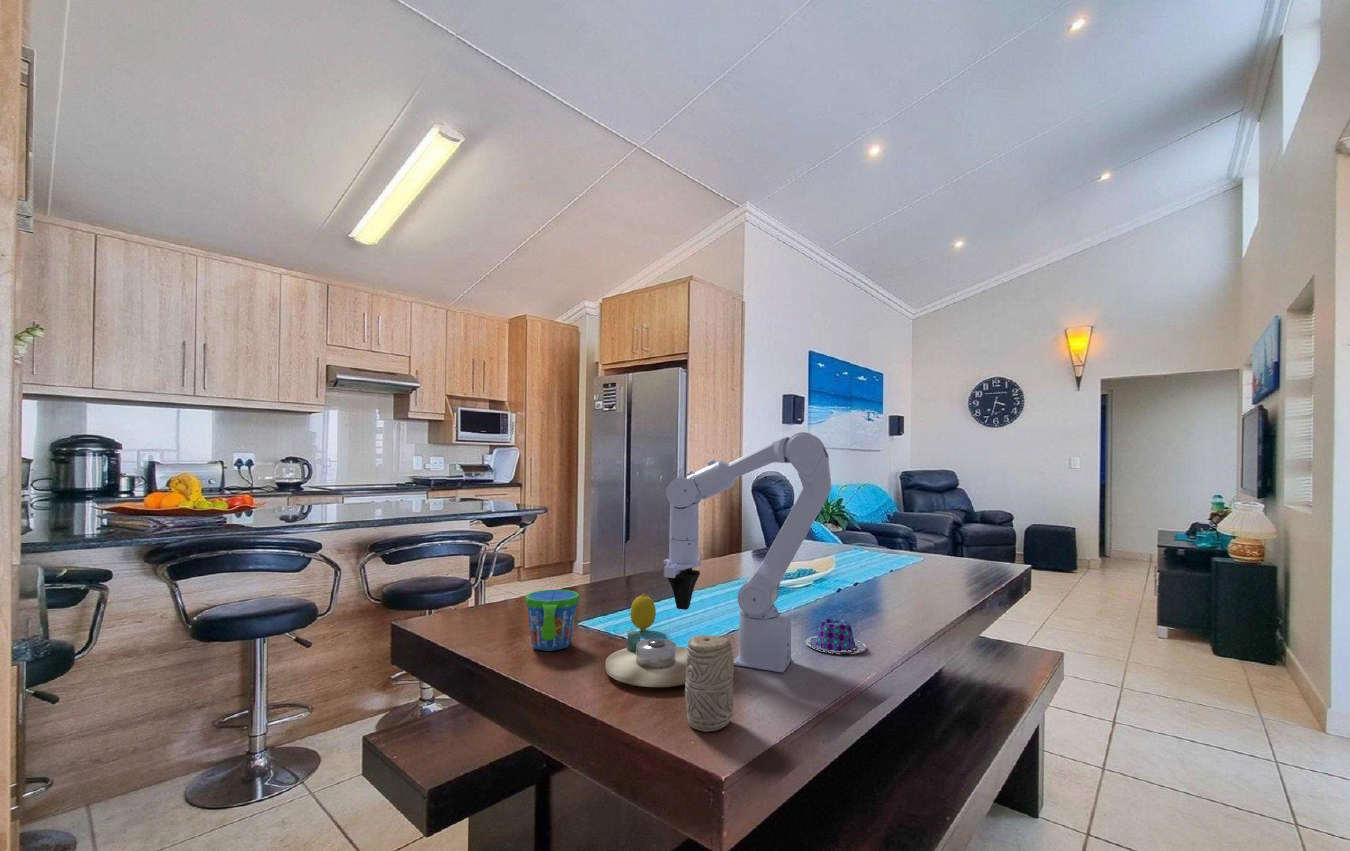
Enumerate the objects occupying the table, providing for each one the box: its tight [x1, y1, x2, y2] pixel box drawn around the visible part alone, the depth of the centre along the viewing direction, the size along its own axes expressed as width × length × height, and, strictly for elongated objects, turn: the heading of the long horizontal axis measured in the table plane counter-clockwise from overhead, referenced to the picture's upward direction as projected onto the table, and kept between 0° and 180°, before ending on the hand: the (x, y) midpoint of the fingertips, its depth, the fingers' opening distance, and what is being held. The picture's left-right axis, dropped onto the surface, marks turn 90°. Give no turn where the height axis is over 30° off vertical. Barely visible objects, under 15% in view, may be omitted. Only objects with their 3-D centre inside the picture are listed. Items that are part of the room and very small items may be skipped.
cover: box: [636, 638, 677, 669], centre depth 100 cm, size 7×7×4 cm
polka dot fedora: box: [805, 618, 867, 655], centre depth 117 cm, size 12×12×5 cm
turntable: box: [605, 630, 688, 688], centre depth 100 cm, size 18×18×4 cm
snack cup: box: [524, 589, 580, 652], centre depth 114 cm, size 16×10×10 cm
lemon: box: [630, 593, 657, 632], centre depth 125 cm, size 6×6×8 cm
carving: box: [684, 634, 735, 733], centre depth 81 cm, size 6×8×12 cm
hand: (682, 608), depth 112 cm, fingers closed
